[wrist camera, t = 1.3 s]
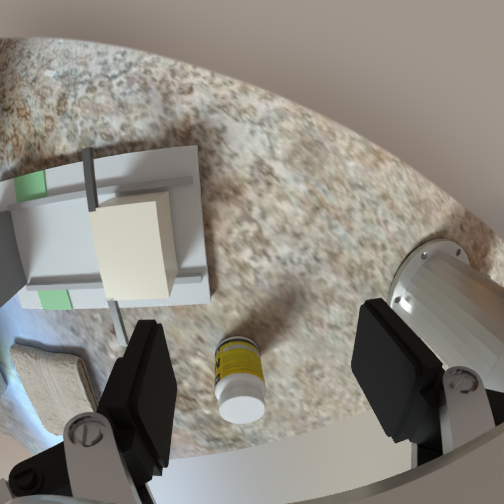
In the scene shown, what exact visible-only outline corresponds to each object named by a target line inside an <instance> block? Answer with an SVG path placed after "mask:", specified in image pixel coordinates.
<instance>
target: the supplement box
mask: <svg viewBox="0 0 504 504" xmlns="http://www.w3.org/2000/svg"><path fill="white" fill-rule="evenodd" d="M6 388H7V385H6V383H5V380H4V378H3V376H2V374H1V372H0V398H1V396H2V394H3V393H4V391H5V390H6Z"/></svg>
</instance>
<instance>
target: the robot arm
mask: <svg viewBox="0 0 504 504" xmlns="http://www.w3.org/2000/svg"><path fill="white" fill-rule="evenodd" d="M421 337H422V338H423V339H424V340H425V341H426V342H427V343H428V344H429V346H430V347H431V348H432V349H433V350H434V351H435V352H436V353H437V354H438V355H439V357H440V358H441V359H442V360H443V361H444V362H445V363H446V364H447V365H448V367H449V369H447V370H446V371H445V370H444V369H443V368H442V365H443V363H442V362H441V361H440V360H439V359H438V358H437V357H436V355H435V354H434V353H433V352H432V351H431V350H430V349H429V348H428V347H427V345H426V344H425V343H424V342H423V341H422V340H421V339H420V338H421ZM351 369H352V372H353V374H354V376H355V377H356V379H357V381H358V383H359V385H360V387H361V388H362V390H363V392H364V394H365V396H366V398H367V400H368V401H369V403H370V405H371V407H372V409H373V411H374V413H375V415H376V416H377V418H378V420H379V422H380V424H381V426H382V428H383V429H384V431H385V433H386V435H387V436H388V437H392V439H393V441H394V442H395V443H398V442H401V441H404V440H406V439H409V441H410V442H412V454H411V457H412V458H411V470H408V471H406V472H403V473H401V474H398V475H396V476H393V477H390V478H387V479H384V480H382V481H378V482H375V483H372V484H369V485H366V486H363V487H359V488H356V489H353V490H349V491H345V492H341V493H337V494H333V495H329V496H325V497H320V498H316V499H311V500H305V501H300V502H294V503H288V504H504V287H502V286H501V285H499V284H498V283H496V282H495V281H493V280H491V278H490V276H489V275H483V274H482V273H480V272H479V271H477V270H475V269H474V268H472V267H470V263H469V259H468V256H467V254H466V252H465V251H464V249H463V248H462V247H461V246H460V245H459V244H457V243H455V242H453V241H451V240H448V239H434V240H431V241H428V242H426V243H425V244H423V245H421V246H419V247H418V248H417V249H416V250H415V251H413V252H412V253H411V254H410V255H409V256H408V258H407V259H406V260H405V261H404V262H403V264H402V265H401V267H400V268H399V270H398V271H397V273H396V275H395V277H394V279H393V282H392V285H391V287H390V291H389V296H388V304H387V303H386V302H385V301H384V300H383V299H382V298H376V299H369V300H366V301H365V303H364V304H363V305H361V307H360V311H359V318H358V325H357V332H356V338H355V344H354V350H353V355H352V361H351ZM176 395H177V383H176V379H175V375H174V371H173V368H172V364H171V360H170V356H169V352H168V348H167V344H166V339H165V335H164V331H163V327H162V324H161V323H160V324H157V322H156V320H155V319H154V320H138V322H137V324H136V327H135V329H134V332H133V334H132V336H131V339H130V341H129V344H128V346H127V349H126V351H125V354H124V356H123V357H119V358H118V359H117V360H116V362H115V364H114V367H113V369H112V372H111V374H110V377H109V379H108V382H107V384H106V387H105V389H104V392H103V394H102V397H101V400H100V402H99V405H98V408H97V410H96V413H95V412H84V413H81V414H78V415H76V416H74V417H73V418H71V419H70V420H69V421H68V422H67V424H66V425H65V428H64V431H63V439H64V441H63V442H61V443H59V444H57V445H55V446H53V447H51V448H49V449H47V450H45V451H43V452H41V453H39V454H37V455H35V456H33V457H31V458H29V459H26V460H24V461H22V462H20V463H19V464H17V465H16V466H15V467H14V468H13V469H12V470H11V472H10V475H9V480H8V481H6V480H5V479H4V478H3V479H1V480H0V504H156V502H155V500H154V498H153V495H152V493H151V491H150V489H149V486H148V484H147V482H148V481H150V480H152V476H153V475H154V476H162V470H163V467H164V468H167V467H168V464H169V454H170V445H171V435H172V427H173V418H174V410H175V402H176Z"/></svg>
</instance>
